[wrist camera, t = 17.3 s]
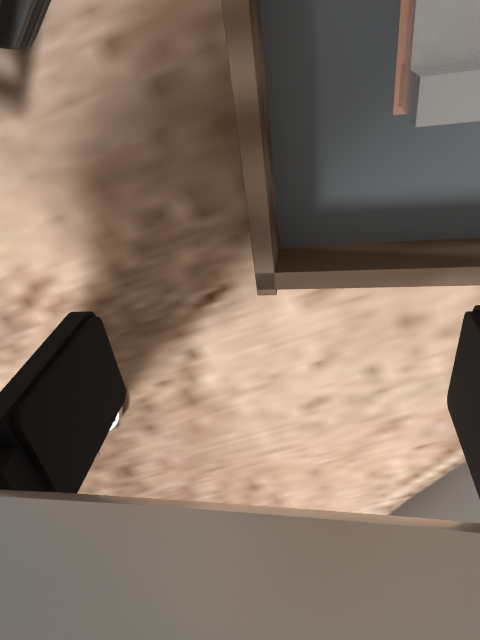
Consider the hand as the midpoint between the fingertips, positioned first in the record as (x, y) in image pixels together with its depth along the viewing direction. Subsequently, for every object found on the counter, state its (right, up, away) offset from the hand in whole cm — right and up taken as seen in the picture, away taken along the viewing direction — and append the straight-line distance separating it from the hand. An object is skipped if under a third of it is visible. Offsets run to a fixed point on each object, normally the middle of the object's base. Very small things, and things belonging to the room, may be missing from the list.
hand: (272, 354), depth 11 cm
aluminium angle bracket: (+13, +18, +15) cm, 26 cm away
